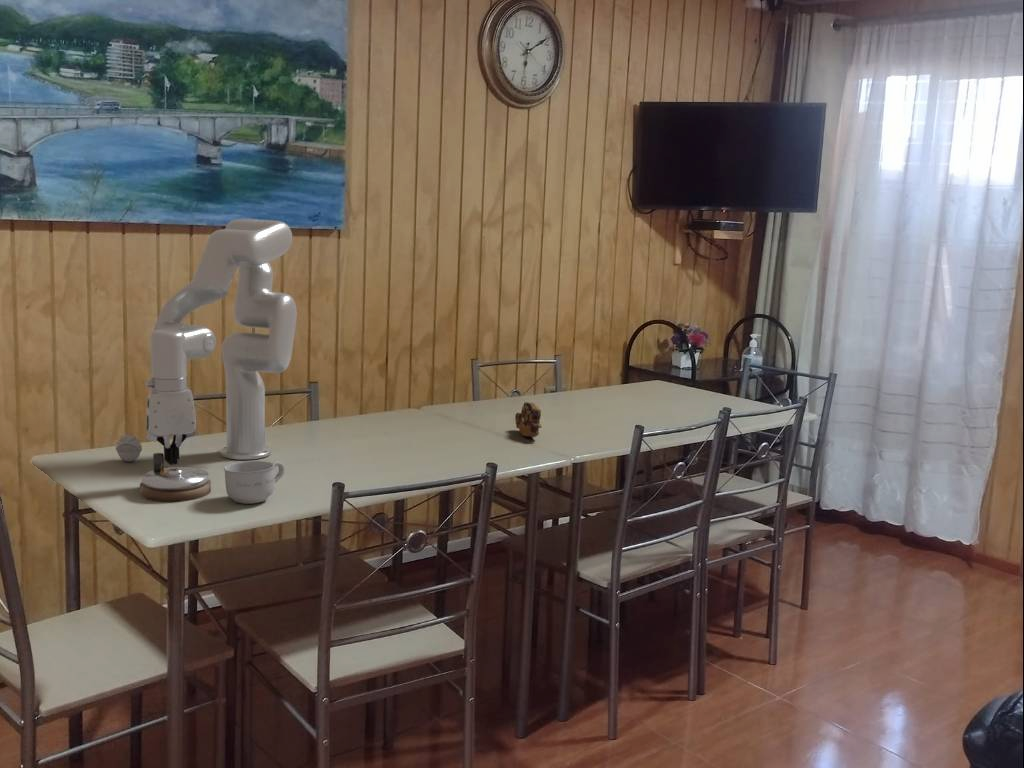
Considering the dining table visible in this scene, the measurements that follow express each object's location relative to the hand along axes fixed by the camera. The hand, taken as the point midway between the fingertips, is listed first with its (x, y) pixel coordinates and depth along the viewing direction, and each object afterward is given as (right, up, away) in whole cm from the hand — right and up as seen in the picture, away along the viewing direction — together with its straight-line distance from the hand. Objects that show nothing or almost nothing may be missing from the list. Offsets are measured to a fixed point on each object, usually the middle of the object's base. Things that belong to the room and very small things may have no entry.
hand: (171, 463), depth 226 cm
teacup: (+21, -8, -7) cm, 23 cm away
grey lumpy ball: (-17, -1, +18) cm, 25 cm away
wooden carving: (+82, +3, +63) cm, 104 cm away
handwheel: (+2, -4, -5) cm, 7 cm away
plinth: (+2, -6, -4) cm, 8 cm away
